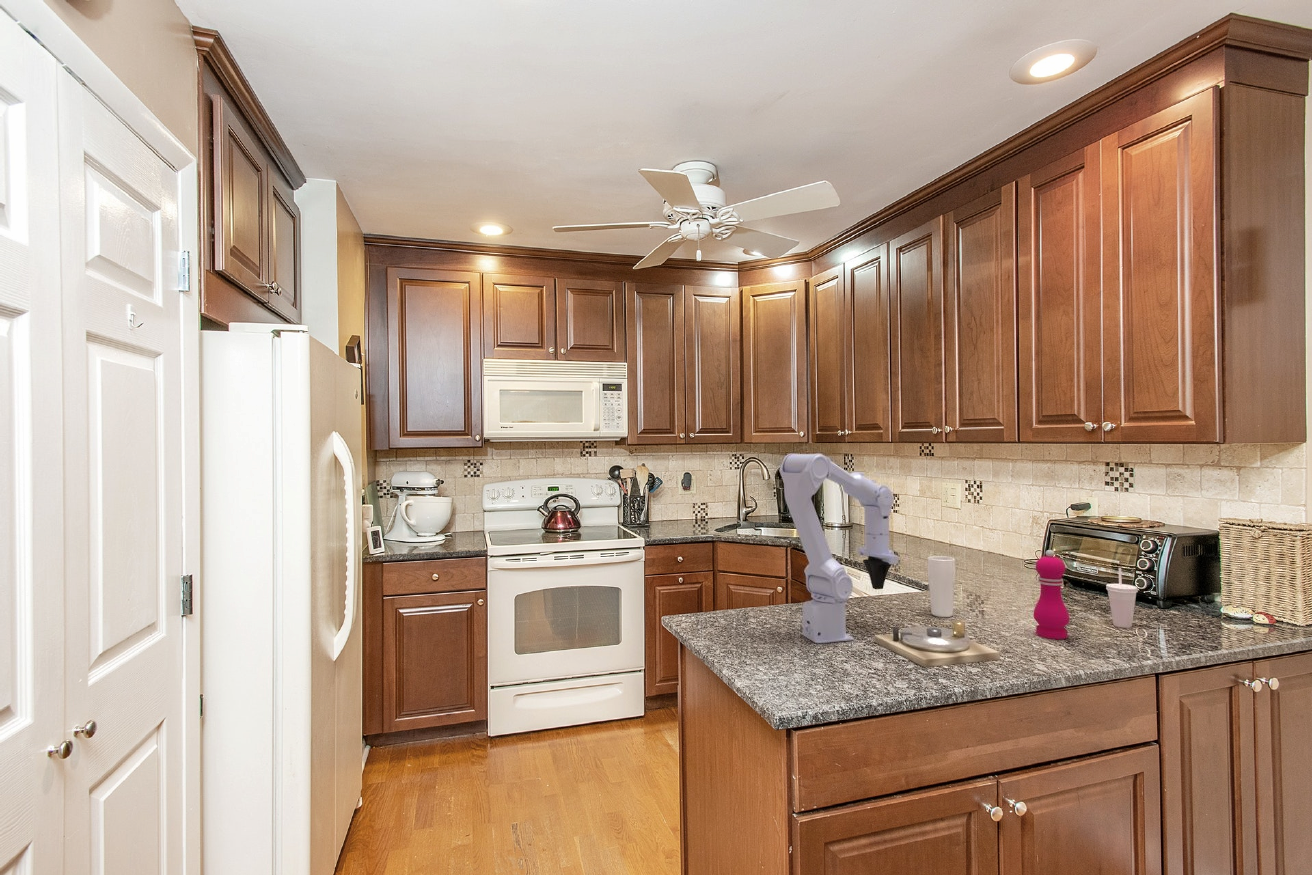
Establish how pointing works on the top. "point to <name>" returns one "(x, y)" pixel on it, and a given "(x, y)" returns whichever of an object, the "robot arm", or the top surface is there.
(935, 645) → the flange disc
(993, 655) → the base plate
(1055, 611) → the pepper mill
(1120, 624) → the smoothie
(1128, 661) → the top surface
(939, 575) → the drinking glass
